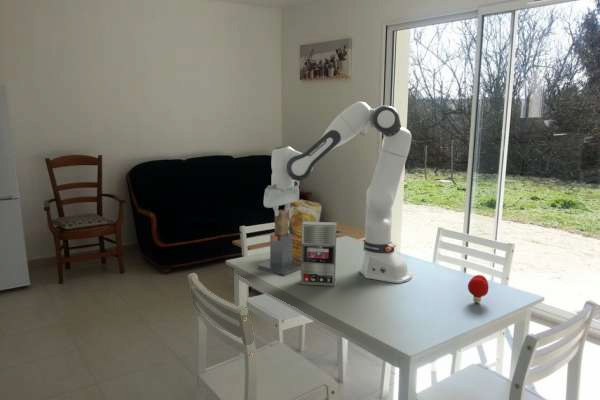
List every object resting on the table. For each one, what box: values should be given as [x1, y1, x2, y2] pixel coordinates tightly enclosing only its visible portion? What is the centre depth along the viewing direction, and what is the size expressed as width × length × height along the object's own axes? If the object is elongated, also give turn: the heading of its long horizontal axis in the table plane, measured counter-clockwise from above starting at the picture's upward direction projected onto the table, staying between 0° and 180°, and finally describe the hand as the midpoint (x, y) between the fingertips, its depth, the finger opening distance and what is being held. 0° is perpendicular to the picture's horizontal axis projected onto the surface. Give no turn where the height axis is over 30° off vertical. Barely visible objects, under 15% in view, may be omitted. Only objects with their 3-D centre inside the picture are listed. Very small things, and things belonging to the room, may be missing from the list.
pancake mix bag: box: [288, 198, 323, 260], centre depth 220 cm, size 7×19×28 cm, turn 48°
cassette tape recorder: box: [300, 221, 338, 287], centre depth 187 cm, size 14×6×25 cm, turn 83°
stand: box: [257, 232, 301, 277], centre depth 206 cm, size 16×14×16 cm
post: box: [274, 209, 289, 236], centre depth 204 cm, size 4×4×20 cm
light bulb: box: [467, 274, 489, 304], centre depth 170 cm, size 9×7×10 cm
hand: (281, 214), depth 203 cm, fingers closed on post, 4 cm apart
